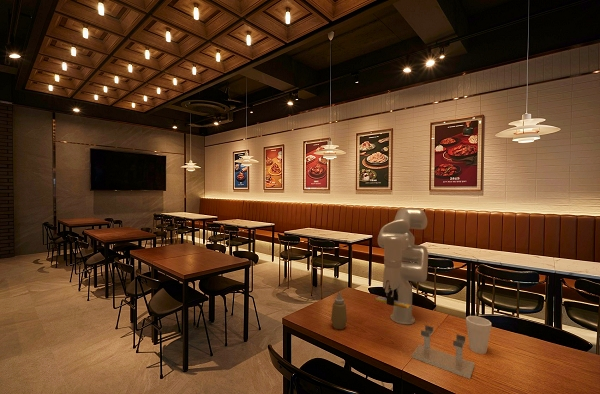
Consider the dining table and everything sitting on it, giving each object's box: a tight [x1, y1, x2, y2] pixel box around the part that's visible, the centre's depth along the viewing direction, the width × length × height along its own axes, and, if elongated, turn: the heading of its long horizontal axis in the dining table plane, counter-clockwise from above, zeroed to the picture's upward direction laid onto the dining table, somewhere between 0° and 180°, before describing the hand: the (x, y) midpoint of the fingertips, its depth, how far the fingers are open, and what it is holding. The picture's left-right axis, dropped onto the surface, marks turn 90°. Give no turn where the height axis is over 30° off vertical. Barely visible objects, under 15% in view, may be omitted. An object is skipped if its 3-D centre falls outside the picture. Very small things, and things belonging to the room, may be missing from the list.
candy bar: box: [374, 295, 413, 308], centre depth 126 cm, size 17×4×2 cm, turn 49°
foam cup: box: [465, 315, 492, 355], centre depth 122 cm, size 10×9×13 cm
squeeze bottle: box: [330, 291, 348, 330], centre depth 142 cm, size 8×8×18 cm
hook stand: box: [411, 325, 475, 380], centre depth 113 cm, size 10×21×12 cm, turn 50°
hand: (392, 302), depth 126 cm, fingers closed on candy bar, 4 cm apart
